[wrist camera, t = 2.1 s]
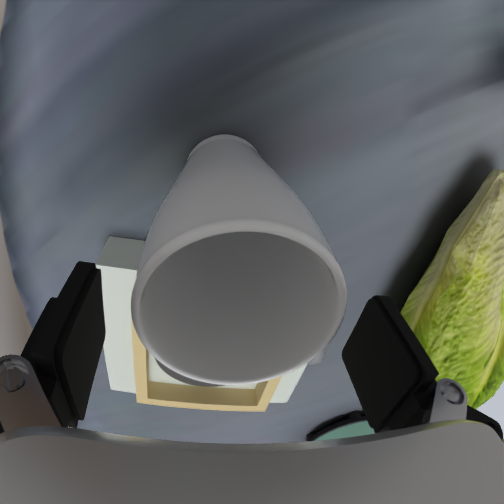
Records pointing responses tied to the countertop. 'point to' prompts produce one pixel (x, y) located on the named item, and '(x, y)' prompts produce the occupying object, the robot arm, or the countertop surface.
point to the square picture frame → (150, 369)
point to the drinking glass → (235, 272)
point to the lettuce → (466, 297)
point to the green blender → (344, 428)
